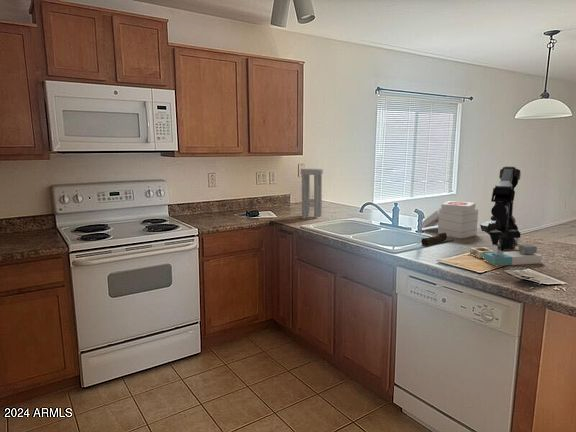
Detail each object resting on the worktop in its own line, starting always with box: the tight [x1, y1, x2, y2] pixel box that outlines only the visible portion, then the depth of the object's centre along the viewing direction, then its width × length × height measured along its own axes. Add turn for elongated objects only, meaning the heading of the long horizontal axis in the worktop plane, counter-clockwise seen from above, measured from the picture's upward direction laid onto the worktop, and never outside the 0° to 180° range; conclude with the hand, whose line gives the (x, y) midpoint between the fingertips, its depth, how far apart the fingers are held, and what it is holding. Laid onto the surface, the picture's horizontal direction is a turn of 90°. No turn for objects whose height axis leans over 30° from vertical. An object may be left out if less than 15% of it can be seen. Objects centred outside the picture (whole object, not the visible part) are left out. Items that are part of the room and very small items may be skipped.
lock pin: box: [492, 243, 505, 257], centre depth 177 cm, size 3×3×8 cm
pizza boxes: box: [421, 200, 479, 239], centre depth 235 cm, size 19×30×18 cm, turn 33°
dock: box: [483, 250, 543, 266], centre depth 178 cm, size 8×22×4 cm, turn 98°
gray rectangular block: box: [518, 244, 538, 255], centre depth 179 cm, size 4×6×7 cm
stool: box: [300, 167, 324, 219], centre depth 290 cm, size 16×16×35 cm
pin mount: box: [469, 246, 493, 259], centre depth 188 cm, size 8×8×3 cm
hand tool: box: [420, 233, 448, 246], centre depth 213 cm, size 19×4×5 cm, turn 121°
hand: (498, 249), depth 176 cm, fingers open, 5 cm apart
